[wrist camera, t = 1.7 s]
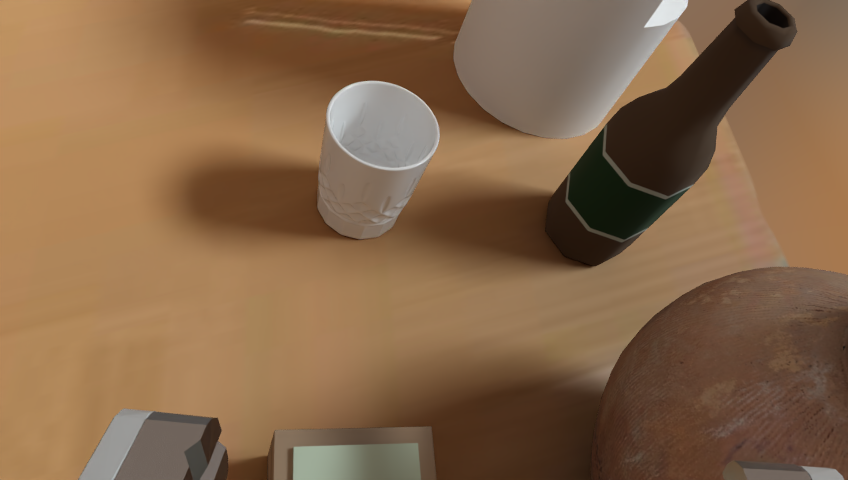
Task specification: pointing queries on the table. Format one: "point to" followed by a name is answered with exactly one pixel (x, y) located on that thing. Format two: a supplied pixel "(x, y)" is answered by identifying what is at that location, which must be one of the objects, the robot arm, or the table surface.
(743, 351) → the pottery
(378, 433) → the stand block
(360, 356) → the table surface
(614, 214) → the beer bottle
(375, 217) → the white cup
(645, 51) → the cylinder
